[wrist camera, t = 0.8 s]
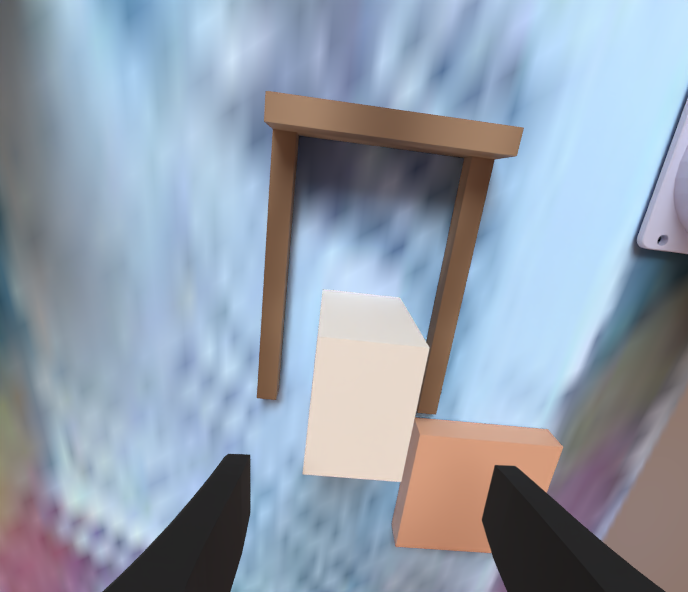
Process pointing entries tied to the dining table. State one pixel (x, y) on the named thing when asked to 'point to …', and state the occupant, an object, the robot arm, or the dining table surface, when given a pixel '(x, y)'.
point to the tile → (462, 479)
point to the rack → (392, 132)
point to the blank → (363, 387)
